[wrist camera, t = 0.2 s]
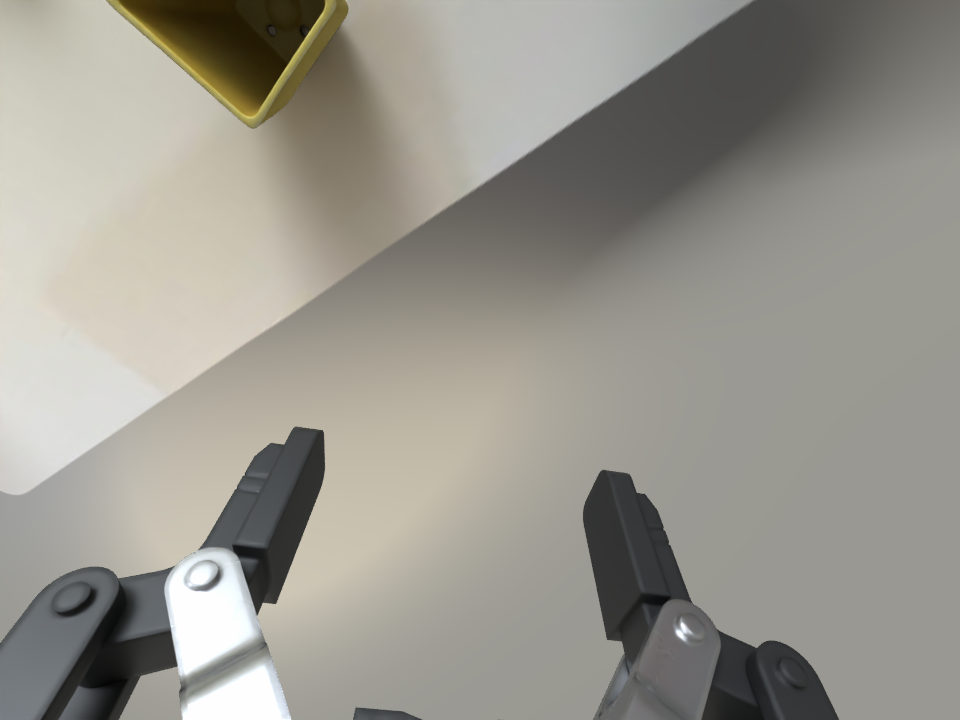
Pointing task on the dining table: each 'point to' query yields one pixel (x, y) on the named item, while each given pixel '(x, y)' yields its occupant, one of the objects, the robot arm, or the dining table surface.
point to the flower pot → (240, 45)
